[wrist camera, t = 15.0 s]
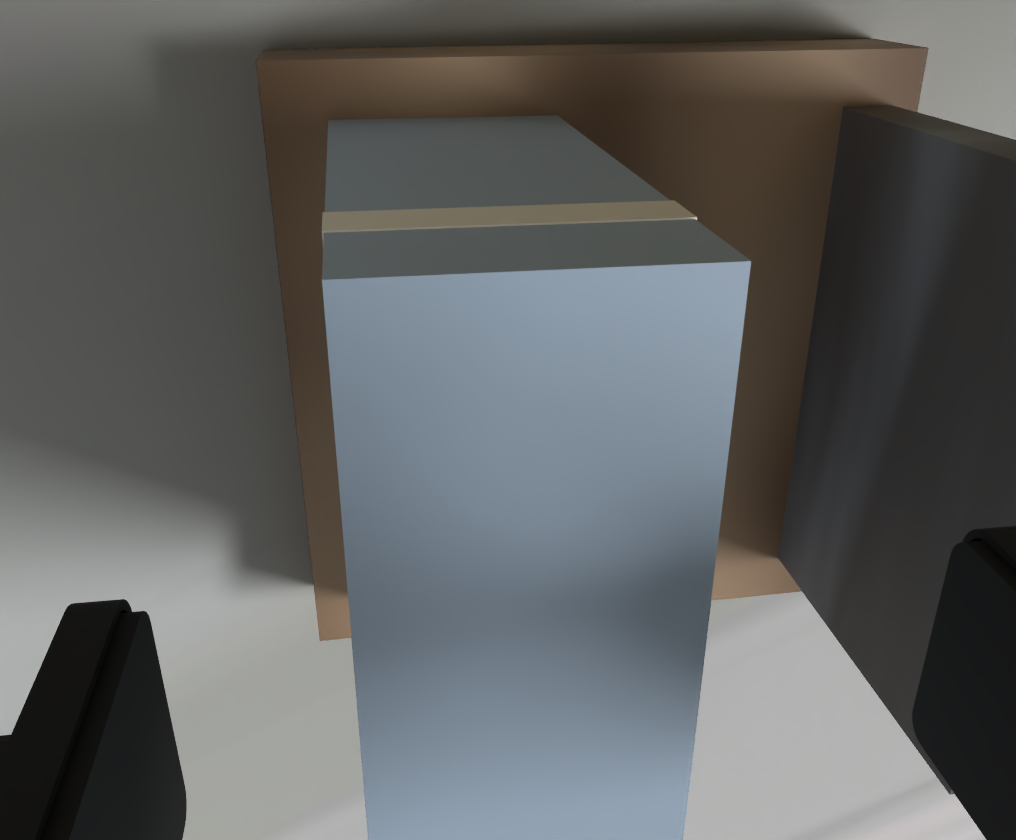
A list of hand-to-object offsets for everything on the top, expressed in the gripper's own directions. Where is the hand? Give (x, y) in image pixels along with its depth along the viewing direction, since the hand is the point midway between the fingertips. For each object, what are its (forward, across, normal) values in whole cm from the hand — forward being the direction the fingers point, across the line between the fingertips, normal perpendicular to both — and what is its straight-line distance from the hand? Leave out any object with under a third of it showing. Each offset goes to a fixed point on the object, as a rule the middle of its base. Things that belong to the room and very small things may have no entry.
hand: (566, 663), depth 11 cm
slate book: (+9, +1, 0) cm, 9 cm away
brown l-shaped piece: (+11, -2, 0) cm, 11 cm away
